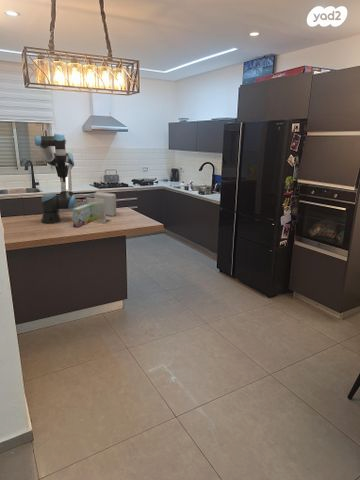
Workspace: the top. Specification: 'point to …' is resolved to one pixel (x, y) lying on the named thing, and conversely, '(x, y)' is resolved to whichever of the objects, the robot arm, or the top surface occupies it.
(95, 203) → the frosted plastic container
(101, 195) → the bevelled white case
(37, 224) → the top surface
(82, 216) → the snack box
